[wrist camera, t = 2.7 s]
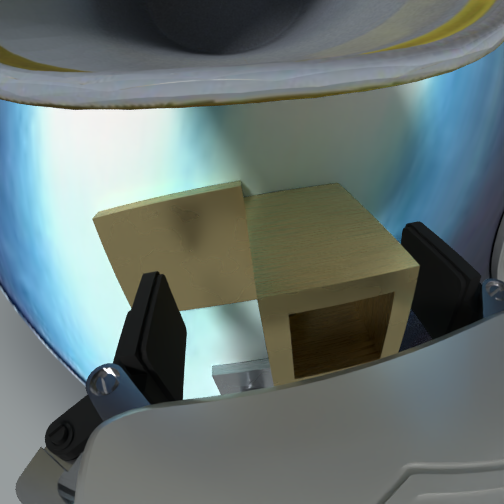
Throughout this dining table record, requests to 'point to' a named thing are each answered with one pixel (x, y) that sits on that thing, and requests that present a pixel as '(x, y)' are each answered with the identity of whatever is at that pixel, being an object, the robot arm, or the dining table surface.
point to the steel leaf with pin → (242, 376)
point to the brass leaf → (274, 268)
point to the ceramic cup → (231, 49)
